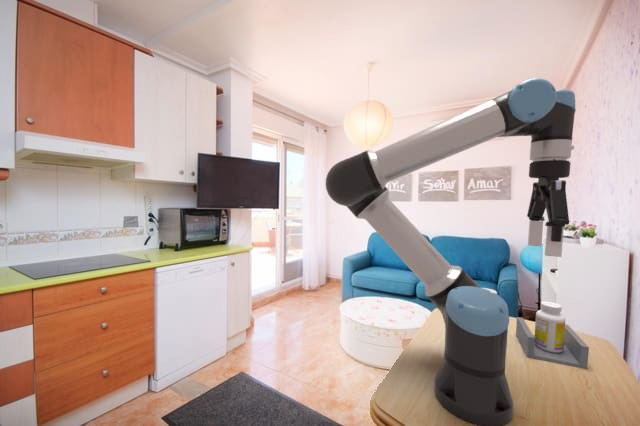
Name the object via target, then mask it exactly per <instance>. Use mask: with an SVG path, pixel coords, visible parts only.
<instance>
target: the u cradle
mask: <svg viewBox="0 0 640 426" xmlns="http://www.w3.org/2000/svg"><path fill="white" fill-rule="evenodd" d="M515 326H516V328H515V335H516V338H517V340H518V341H519V343H520V345H521V347H522V350H523V352H524V354H525V356H526V357H527V358H531V359H536V360H541V361H545V362H550V363H555V364H556V363H557V364H560V365H561V364H562V365H565V366H571V367H576V368H581V369H586V370H587V369H588V366H589V365H588V364H589V353H590V352H589V351H590V347H589V346H588V344H586V342H585V341H584V340H583V339H582V338H581V337H580V336H579V335H578V333H576V331H575V330H574V329H572V327H571V326H570V325H569V324H566V323H565V335H564V349H563V351H562V352H560V353H553V352H549V351H545V350H543V349H541V348H539V347H538V346H536V344H535V334H534V333H532V331H531V329H530V327H529V326H528V324H527V323H526V321H525V319H524V318H523V317H519V316H517V317H516V325H515Z"/></svg>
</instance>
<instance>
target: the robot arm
mask: <svg viewBox="0 0 640 426" xmlns="http://www.w3.org/2000/svg"><path fill="white" fill-rule="evenodd" d="M576 110H577V109H576V94H575V92H574V90H570V89H566V88H564V89H563V88H561V89H560V88H559V89H556V88H555V86H554V85H553V84H552V83H551V81H549V80H547V79H544V78H539V77H534V78H533V77H532V78H528V79H526V80H523V81H522V82H521V83H519V84H517V85H515V86H514V87H513V88H512V89H511V90H510V91H508V92H505V93H503V94H501V95H499V96H497V97H494V98H492V99H491V100H488V101H486V102H483V103H481V104H478V105H476V106H474V107H472V108H469V109H467V110H465V111H462V112H461V113H459V114H455V115H454V116H452V117H450V118H448V119H445V120H443V121H440V122H438V123H436V124H434V125H431V126H430V127H427V128H425V129H423V130H421V131H418V132H416V133H413V134H411V135H409V136H407V137H405V138H403V139H401V140H398V141H396V142H393V143H392V144H389V145H387V146H385V147H383V148H381V149H378V150H376V151H373V150H369V149H367V150H365V151H363V152H360V153H358V154H356V155H353V156H351V157H348V158H346V159H343V160H340V161H339V162H337V163H335V164H334V165H332V166H331V168H330V169H329V170H328V172H327V175H326V178H325V189H326V192H327V194H328V196H329V197H330V198H331V200H332V202H335V203H336V204H337V205H340V206H344V207H346V208H347V209H348V210H349V211H350V212H351V214H353V215H354V217H355V218H356V219H360V220H365V221H366V222H367V223H368V224H369V225H370V226H371V228H373V229H374V231H375V232H376V233H377V234H378V235H379V236H380V237H381V239H383V241H385V243H386V244H387V245H388V246H389V248H390V249H392V251H393V252H394V253H395V254H396V255H397V256H398V257H399V259H401V260H402V262H403V263H404V264H405V265H406V266H407V267H408V268H409V269H410V271H412V273H413V274H414V275H415V276H416V277H417V278H418V279H419V280H420V282H421V283H422V284H423V285H424V287H425V288H424V294H425V297H427V298H428V299H429V300H430V301H431V302H432V304H433V305H434V306H435V307H436V308H437V310H439V312H440V313H441V315H442V318H443V322H444V327H445V328H444V329H445V335H444V336H445V337H444V355H443V356H444V357H443V360H442V362H441V365H440V367H439V370H438V371H437V373H436V376H435V379H434V394H435V396H436V399H437V400H438V402H440V404H441V405H442V406H443V407H444V408H445V409H446V410H447V411H449V412H450V413H451V414H453V415H455V416H456V417H458V418H460V419H462V420H464V421H467V422H470V423H472V424H476V425H478V426H479V425H480V426H503V425H506V424H507V423H509V422H510V421H511V420H512V418H513V414H514V400H513V397H512V393H511V390H510V387H509V383H508V380H507V377H506V362H507V361H506V360H507V345H508V332H509V331H508V329H509V324H510V314H509V306H508V304H507V302H506V301H505V299H503V298H502V297H501V296H500V295H499V294H498V293H497V294H495V293H491V292H490V291H489V290H486V289H483V288H484V287H481V285H479V283H478V282H476V281H475V280H473V278H471V277H470V275H468V273H467V272H466V271H465V270H464V269H463V268H462V267H461V266H459V265H452V264H450V262H448V260H447V259H446V258H444V256H443V254H441V253H440V252H439V251H438V250H437V249H436V247H434V246H433V244H432V243H431V242H430V241H429V240H428V238H426V237H425V236H424V235H423V234H422V233H421V232H420V231H419V229H418V228H417V227H416V226H415V225H414V224H413V223H412V222H411V221H410V220H409V219H408V218H407V217H406V215H405V214H404V213H403V211H401V210H400V209H399V208H398V207H397V206H396V205H395V204H394V202H393V201H392V200H391V199H390V197H389V192H390V190H389V189H388V187H386V185H387V183H390V182H392V181H394V180H397V179H399V178H402V177H404V176H407V175H409V174H411V173H413V172H416V171H418V170H420V169H423V168H425V167H429V166H430V165H432V164H436V163H437V162H440V161H442V160H446V158H449V157H452V156H455V155H457V154H459V153H462V152H464V151H466V150H469V149H471V148H474V147H477V146H479V145H482V144H483V143H486V142H489V141H490V140H493V139H495V138H507V137H528V136H529V137H530V136H531V138H530V139H531V140H530V151H529V160H530V161H531V162H530V163H529V169H528V177H529V178H531V179H538V180H537V182H536V181H535V182H533V184H532V192H531V197H530V201H529V205H528V211H527V214H526V217H527V218H528V220H529V223H528V224H529V225H528V239H527V246H530V247H542V240H543V238H542V237H543V226H545V227H546V237H545V249H544V256H546V257H557V258H562V253H563V241H564V240H563V239H564V228H565V226H566V225H567V226H568V225H570V217H569V210H568V209H569V207H568V200H567V192H566V191H567V190H566V189H567V188H566V187H567V186H566V185H567V181H566V180H560V179H563V178H564V179H565V178H569V176H570V172H571V162H570V160H568V159H570V158H571V156H572V151H573V150H574V149H575V145H573V132H574V124H575V123H574V122H575V114H576ZM545 211H546V215H547V220H548V221H546V219H545V216H544V215H545V214H544V213H545ZM544 221H546V222H545V225H544Z"/></svg>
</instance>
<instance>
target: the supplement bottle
mask: <svg viewBox="0 0 640 426" xmlns="http://www.w3.org/2000/svg"><path fill="white" fill-rule="evenodd" d="M562 309H563V307H562V305H561V304H559V303H556V302H552V301H541V302H540V309H539V310H537V311H536V313H535V323H534V324H535V327H534V335H535V344H536V346H538V347H539V348H541V349H543V350H545V351H549V352H553V353H560V352H562V351H563V349H564V335H565V324H566V317H565V316H564V315H563V314H562V313H561V312H562Z"/></svg>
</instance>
